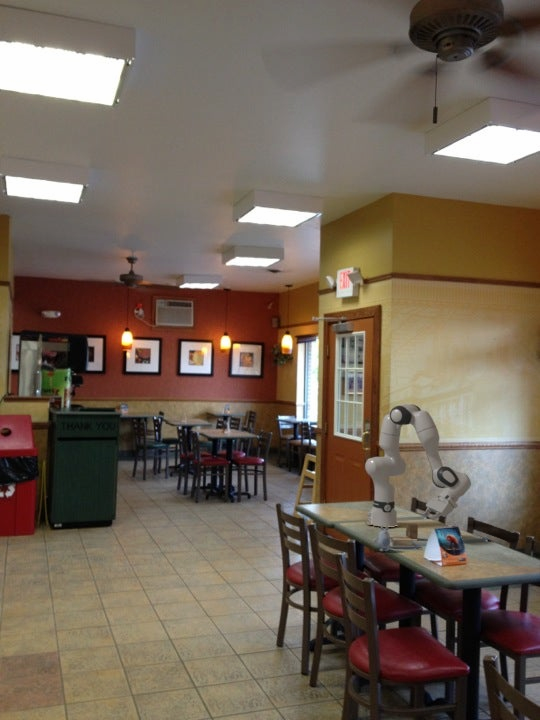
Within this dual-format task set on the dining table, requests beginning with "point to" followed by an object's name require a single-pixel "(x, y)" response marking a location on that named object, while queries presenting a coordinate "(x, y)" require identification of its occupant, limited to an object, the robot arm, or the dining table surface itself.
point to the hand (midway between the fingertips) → (428, 517)
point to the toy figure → (383, 539)
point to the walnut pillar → (412, 530)
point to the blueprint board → (405, 546)
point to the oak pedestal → (401, 540)
